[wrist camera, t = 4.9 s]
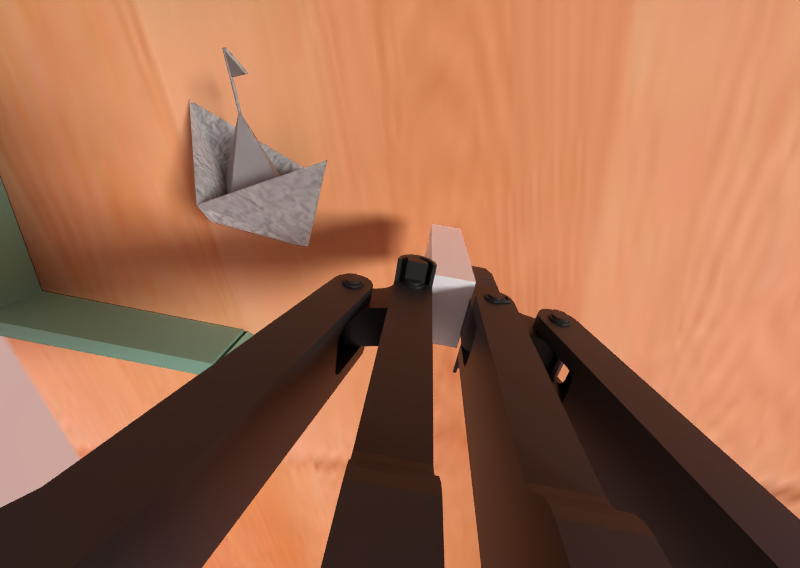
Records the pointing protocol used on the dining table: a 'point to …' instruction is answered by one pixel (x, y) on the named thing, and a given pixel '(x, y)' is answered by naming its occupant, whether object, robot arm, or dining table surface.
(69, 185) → the dining table surface
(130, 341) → the green u-shaped frame
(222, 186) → the paper boat
